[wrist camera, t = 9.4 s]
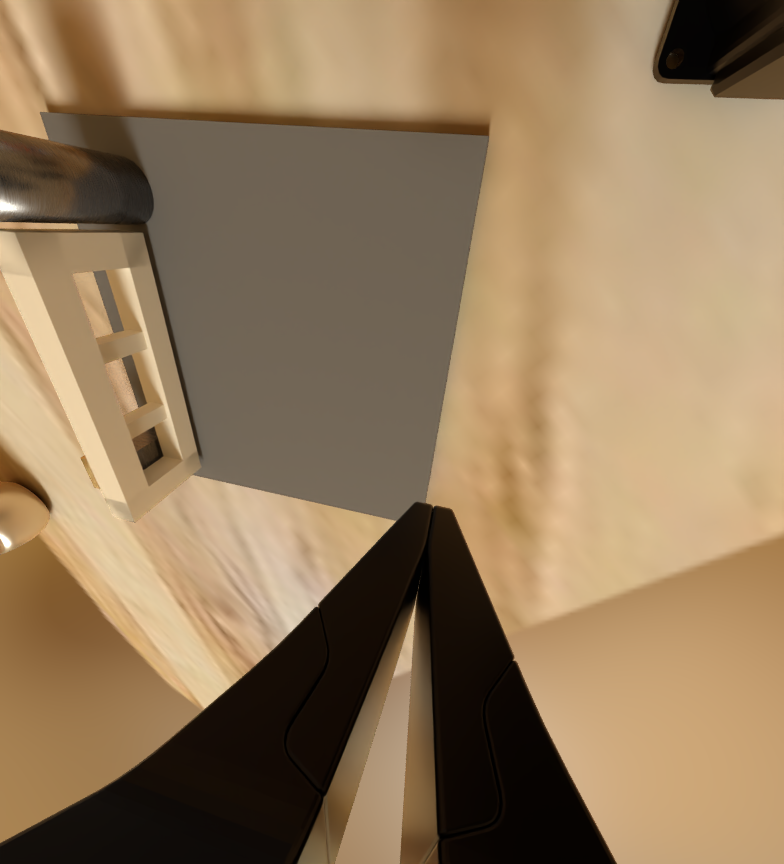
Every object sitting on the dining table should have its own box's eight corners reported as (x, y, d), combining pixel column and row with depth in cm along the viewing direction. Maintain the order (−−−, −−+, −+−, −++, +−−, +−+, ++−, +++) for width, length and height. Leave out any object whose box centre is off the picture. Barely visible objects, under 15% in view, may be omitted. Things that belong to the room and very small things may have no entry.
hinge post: (102, 155, 18) (-105, 113, 12) (152, 159, 17) (-35, 117, 11) (121, 222, 19) (-53, 217, 13) (167, 227, 19) (10, 224, 13)
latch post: (155, 415, 26) (80, 457, 21) (182, 421, 26) (113, 465, 21) (163, 442, 28) (94, 487, 23) (189, 447, 27) (125, 495, 22)
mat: (50, 115, 18) (39, 112, 17) (488, 138, 14) (489, 136, 14) (163, 463, 29) (158, 467, 28) (422, 521, 26) (421, 526, 25)
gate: (117, 229, 19) (-19, 228, 14) (143, 232, 18) (14, 232, 13) (182, 463, 27) (113, 516, 22) (201, 467, 27) (135, 522, 21)
